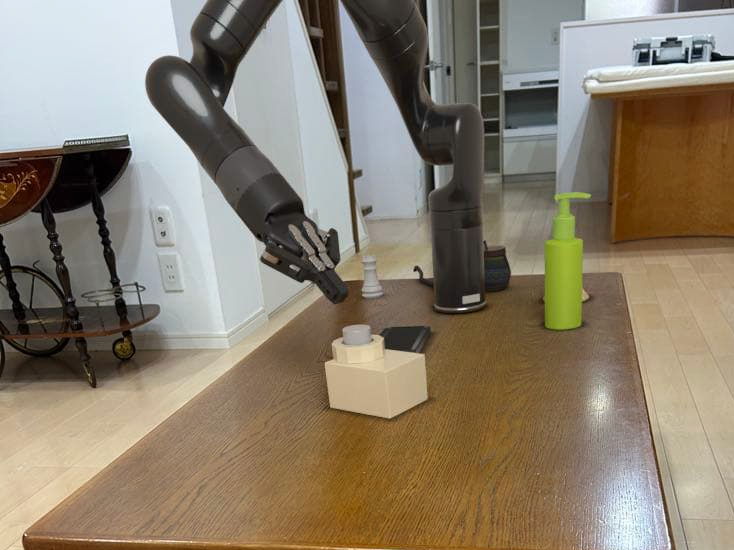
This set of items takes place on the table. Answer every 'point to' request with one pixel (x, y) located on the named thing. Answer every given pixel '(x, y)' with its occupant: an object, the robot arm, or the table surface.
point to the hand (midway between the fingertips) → (342, 298)
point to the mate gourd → (496, 268)
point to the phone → (405, 338)
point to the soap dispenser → (564, 269)
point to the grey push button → (357, 335)
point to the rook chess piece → (370, 278)
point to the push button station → (375, 378)
